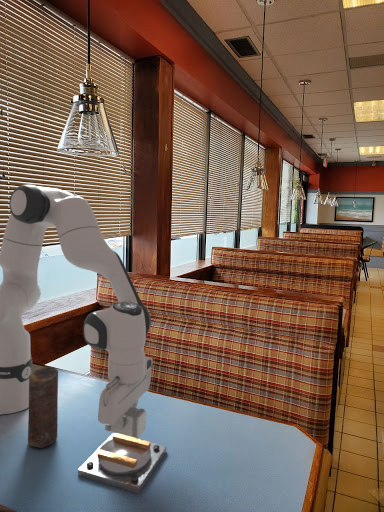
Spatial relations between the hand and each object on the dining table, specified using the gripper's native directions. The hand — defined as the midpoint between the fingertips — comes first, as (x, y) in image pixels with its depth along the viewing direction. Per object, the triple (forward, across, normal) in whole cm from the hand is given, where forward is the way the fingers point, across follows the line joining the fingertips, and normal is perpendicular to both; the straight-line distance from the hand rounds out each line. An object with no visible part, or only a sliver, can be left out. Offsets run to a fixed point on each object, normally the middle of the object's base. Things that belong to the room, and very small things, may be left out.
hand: (125, 422), depth 94 cm
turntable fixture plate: (+11, 0, 0) cm, 11 cm away
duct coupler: (+2, 0, 0) cm, 2 cm away
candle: (+11, -1, +24) cm, 27 cm away
